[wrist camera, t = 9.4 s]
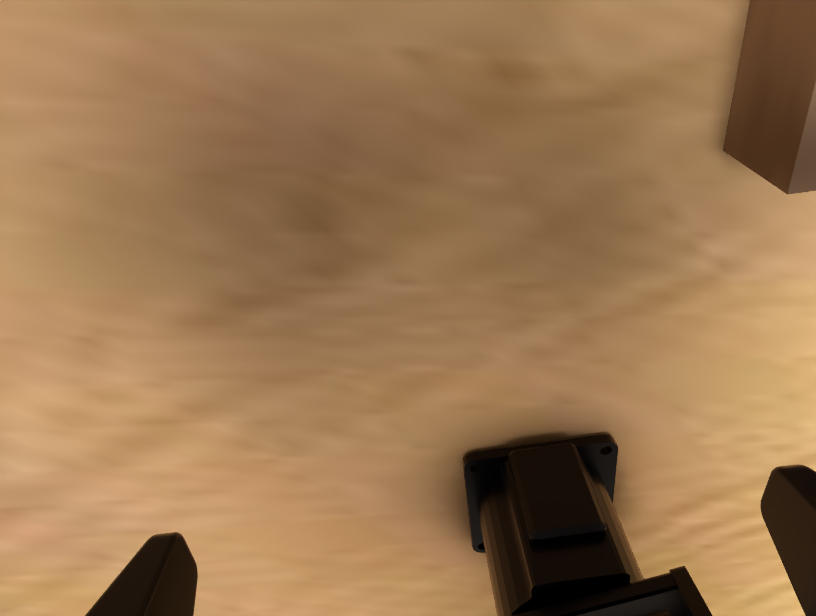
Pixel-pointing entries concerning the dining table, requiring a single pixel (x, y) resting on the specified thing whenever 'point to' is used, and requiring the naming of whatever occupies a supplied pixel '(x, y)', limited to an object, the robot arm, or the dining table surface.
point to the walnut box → (777, 95)
